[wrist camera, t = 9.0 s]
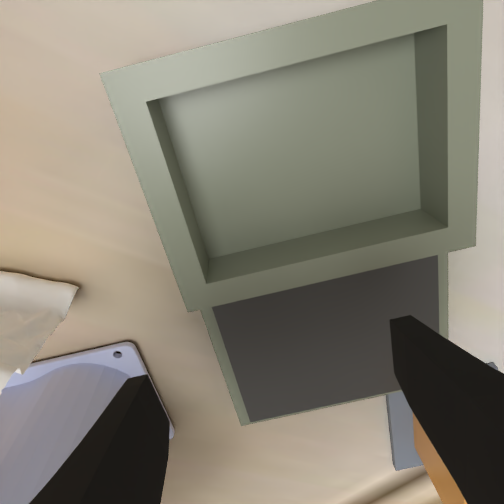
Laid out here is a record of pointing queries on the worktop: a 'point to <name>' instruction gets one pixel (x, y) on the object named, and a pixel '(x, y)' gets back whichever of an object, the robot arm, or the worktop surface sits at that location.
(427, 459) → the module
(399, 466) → the mat
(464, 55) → the grey-green tray
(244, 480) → the worktop surface
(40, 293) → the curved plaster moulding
